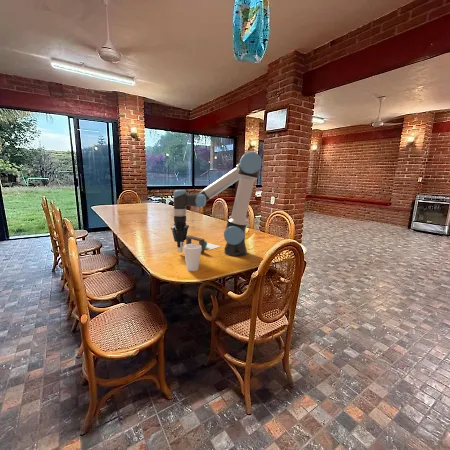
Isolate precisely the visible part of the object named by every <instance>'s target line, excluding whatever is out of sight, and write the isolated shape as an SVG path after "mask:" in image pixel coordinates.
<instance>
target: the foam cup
mask: <svg viewBox="0 0 450 450" xmlns="http://www.w3.org/2000/svg"><path fill="white" fill-rule="evenodd" d="M201 251H202V246H201V245H199V243H198V244H197V243H191V244H187V245H186V244H185V245H184V244H183V253H184V260H185V267H186V271H188V272H197V271H198V270H199V267H200V260H201V254H202V253H201Z"/></svg>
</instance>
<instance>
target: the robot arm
mask: <svg viewBox="0 0 450 450" xmlns="http://www.w3.org/2000/svg"><path fill="white" fill-rule="evenodd" d="M262 161H263V160H262V158H261V156H260V154H258V153H257V152H255V151H248V152H247V151H246V152H245V153H244V154H243V155H242V156H241V157H240V160H239V162H238V163H237V164H236V167H234V168H233V169H232V170H229V172H227V173H225V174H224V175H222V176H221V177H220V178H218V179H216V181H214V182H212V183H211V184H209V185H208V186H207V187H205V188H204V189H202V190H201V191H198V192H197V193H187V191H186V190H185V189H175V190H174V191H173V221H174V222H173V226H171V227H170V230H171V231H172V236H173V240H174V242H175V243H176V244H177V245H176V246H177V252H178V253H184V243H186V236H188V231H189V227H190V225H189V224H187V207H198V208H201V207H202V208H204V207H206V204H207V203H208V201H210V200H211V199H212V198H214V197H215V196H217V195H219V194H220V193H222V192H223V191H224V190H226V189H227V188H229V187H230V186H232V185H233V184H235V183H236V182H238V183H237V185H238V186H237V187H236V188H237V190H236V194H235V197H234V203H233V208H232V210H231V211H232V212H231V216H230V218H228V219H227V220H226V221H227V222H226V227H225V229H224V232H223V237H224V238H223V239H224V240H225V241H226V243H225V247H224V251H223V253H224V254H225V255H227V256H232V257H243V256H246V255H247V253H248V249H247V246H246V242H245V241H246V229H247V221H246V218H247V214H248V210H249V205H250V200H251V197H252V192H253V189H254V184H255V181H256V180H258V179H259V175H260V172H261V171H260V170H261V167H262V163H263V162H262Z"/></svg>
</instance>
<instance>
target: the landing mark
mask: <svg viewBox="0 0 450 450" xmlns="http://www.w3.org/2000/svg"><path fill="white" fill-rule="evenodd" d="M221 247H222V246H221V245H217V244H213V243H210V242H209V243H208V242H207V246H206V247H205V248H204V250H208V251H212V250H215V249H218V248H221Z"/></svg>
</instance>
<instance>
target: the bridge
mask: <svg viewBox="0 0 450 450" xmlns="http://www.w3.org/2000/svg"><path fill="white" fill-rule="evenodd" d="M192 240H193V241H197V242H198V244H199V245H201V246H202V251H201V254H204V253H205V249H204V241H205V239H204V238H201V237H197V236H194V235H192V234H191V235H190V234H189V235H188V234H187V236H186V240H185V245H187V244H192Z"/></svg>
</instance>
